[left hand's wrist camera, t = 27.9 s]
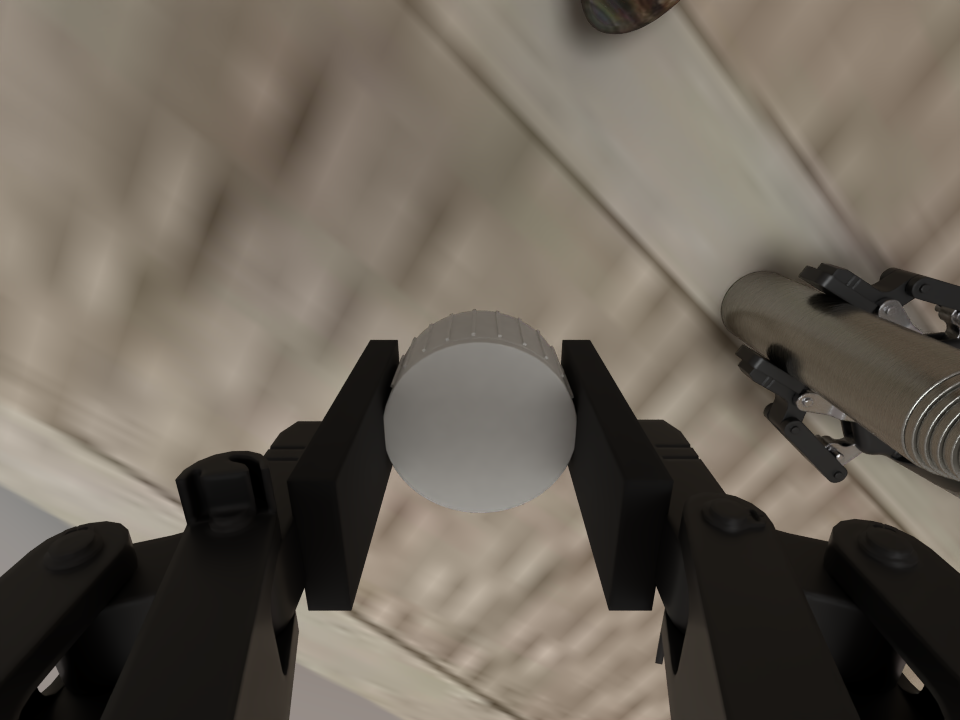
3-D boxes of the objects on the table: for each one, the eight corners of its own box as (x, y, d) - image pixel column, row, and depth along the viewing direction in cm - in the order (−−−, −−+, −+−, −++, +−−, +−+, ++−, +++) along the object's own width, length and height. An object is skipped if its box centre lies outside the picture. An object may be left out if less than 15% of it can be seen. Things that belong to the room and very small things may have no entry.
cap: (378, 433, 15) (359, 485, 13) (423, 284, 13) (411, 312, 11) (528, 476, 15) (536, 534, 13) (589, 339, 14) (612, 377, 11)
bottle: (739, 263, 34) (1089, 413, 15) (804, 281, 35) (1226, 450, 15) (709, 328, 36) (984, 540, 17) (771, 345, 37) (1110, 570, 17)
